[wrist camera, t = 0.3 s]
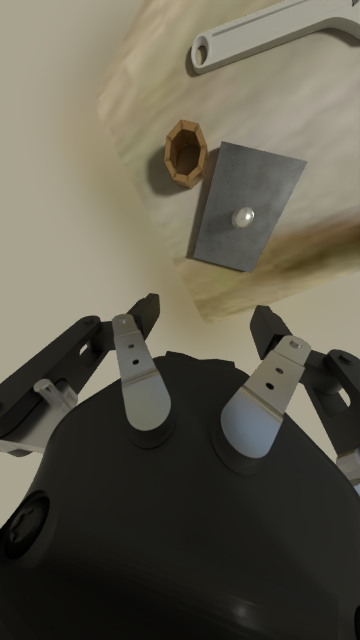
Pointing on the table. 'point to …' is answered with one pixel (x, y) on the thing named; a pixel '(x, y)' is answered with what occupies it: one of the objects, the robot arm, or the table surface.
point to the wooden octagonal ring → (175, 142)
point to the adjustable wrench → (274, 29)
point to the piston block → (244, 204)
